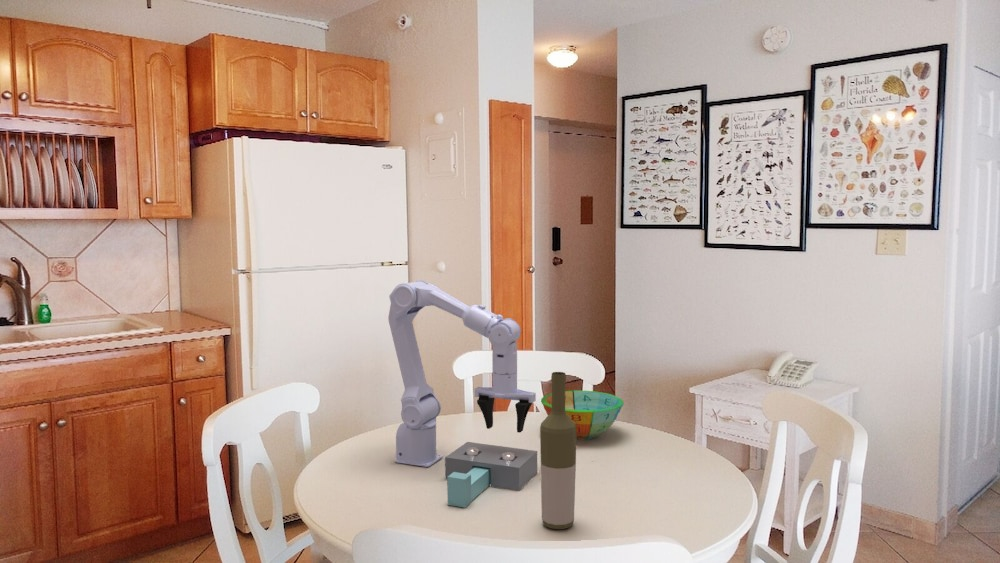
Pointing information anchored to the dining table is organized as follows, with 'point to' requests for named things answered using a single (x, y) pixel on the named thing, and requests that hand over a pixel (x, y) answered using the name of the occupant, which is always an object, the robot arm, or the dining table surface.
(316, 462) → the dining table surface
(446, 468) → the housing
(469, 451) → the plunger left
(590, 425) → the bowl
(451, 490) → the cartridge
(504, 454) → the plunger right
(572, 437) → the bottle
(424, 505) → the dining table surface
